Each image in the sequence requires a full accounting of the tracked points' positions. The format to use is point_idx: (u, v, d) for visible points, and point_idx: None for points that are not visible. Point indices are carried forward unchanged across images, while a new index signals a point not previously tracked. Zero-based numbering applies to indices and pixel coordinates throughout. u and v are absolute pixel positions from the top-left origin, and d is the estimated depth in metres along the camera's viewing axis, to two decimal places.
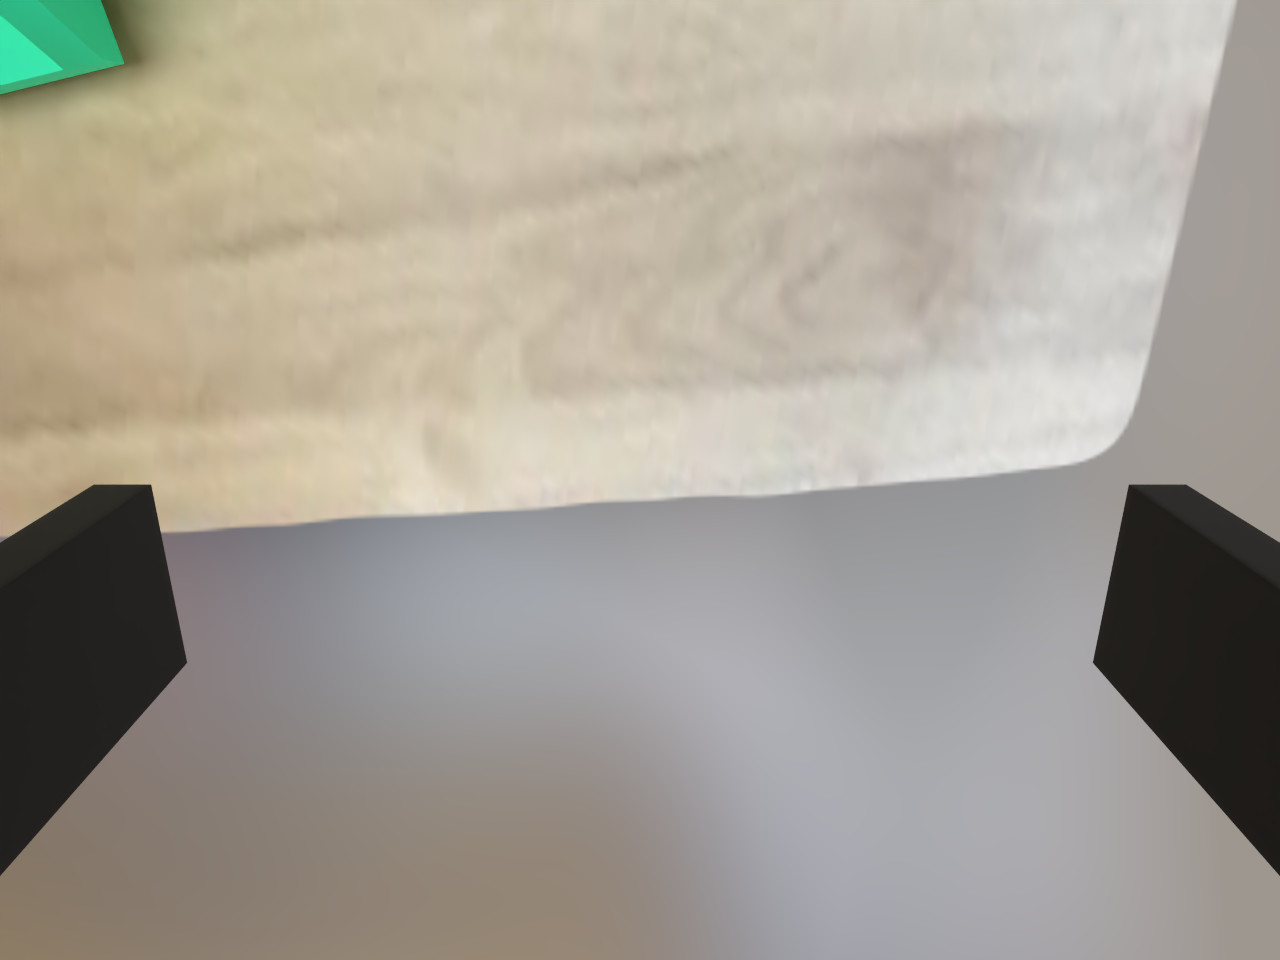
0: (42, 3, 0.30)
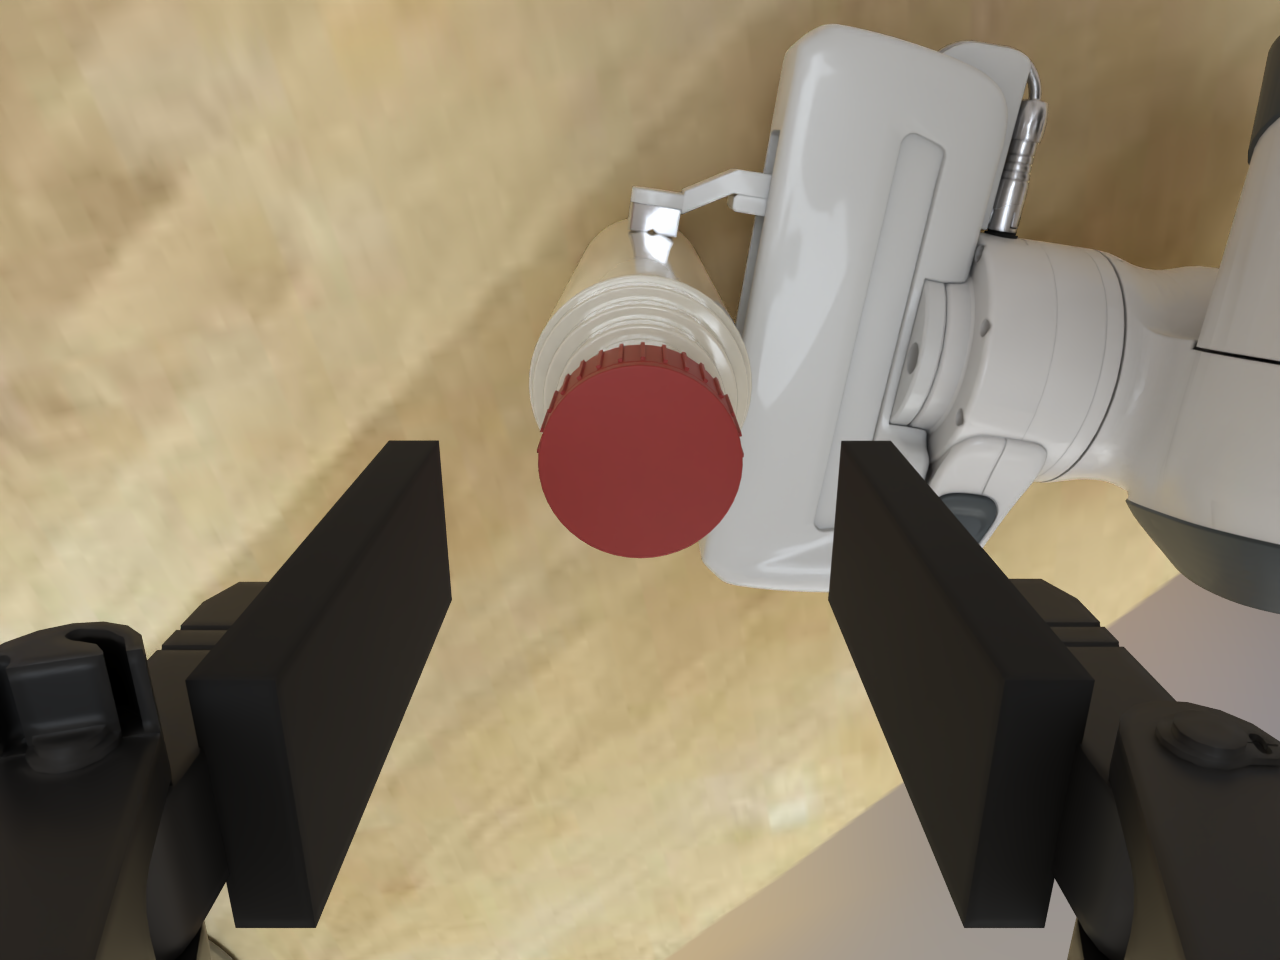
0: None
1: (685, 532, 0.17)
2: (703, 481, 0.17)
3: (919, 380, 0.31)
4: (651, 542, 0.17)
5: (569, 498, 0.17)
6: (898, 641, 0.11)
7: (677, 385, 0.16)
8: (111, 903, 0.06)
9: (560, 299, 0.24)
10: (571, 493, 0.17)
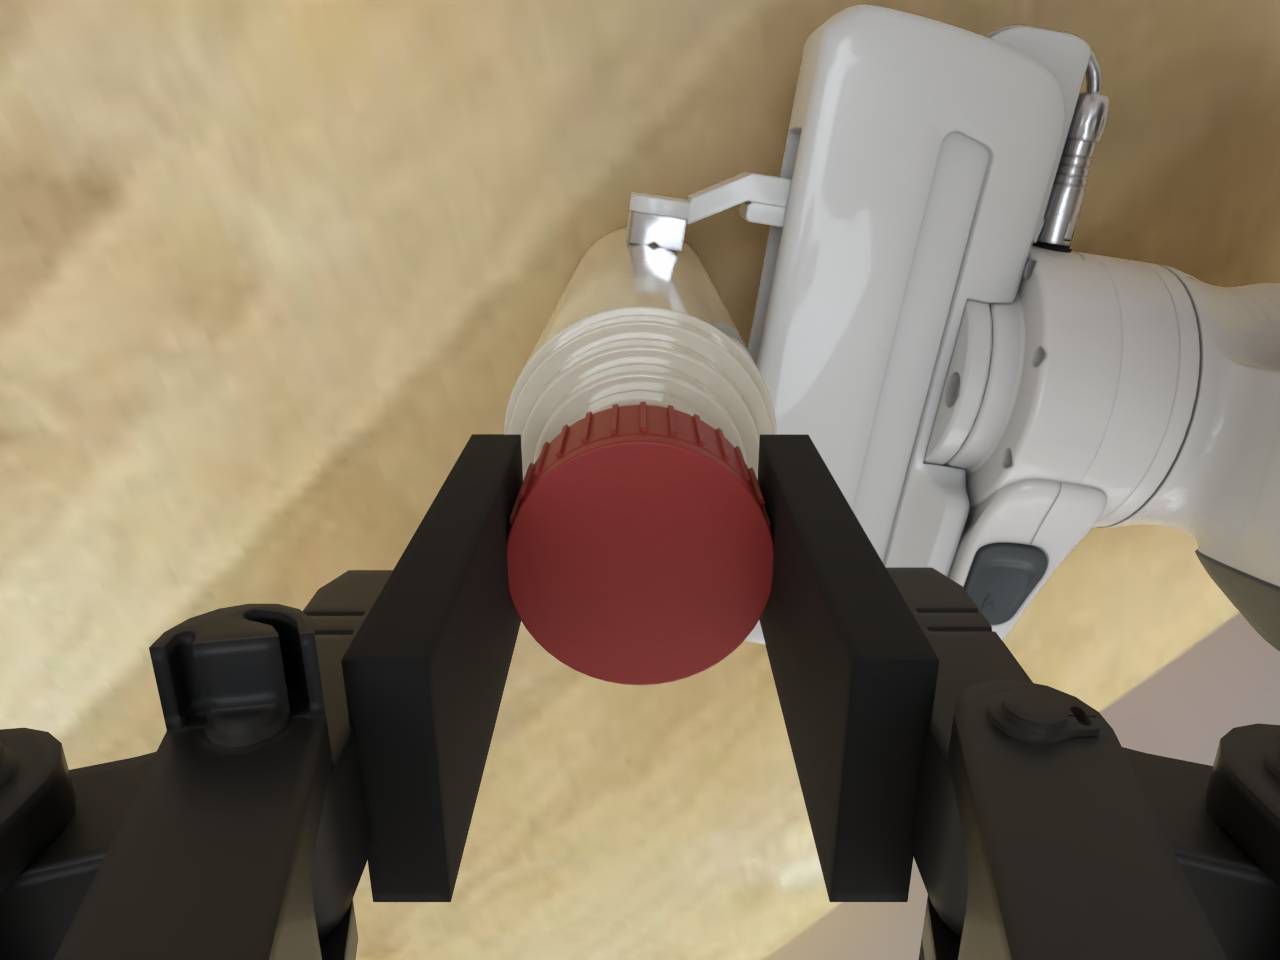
0: None
1: (699, 653, 0.13)
2: (723, 589, 0.13)
3: (960, 415, 0.27)
4: (654, 665, 0.13)
5: (546, 610, 0.13)
6: (792, 627, 0.11)
7: (689, 467, 0.12)
8: (286, 880, 0.06)
9: (544, 330, 0.20)
10: (549, 604, 0.13)
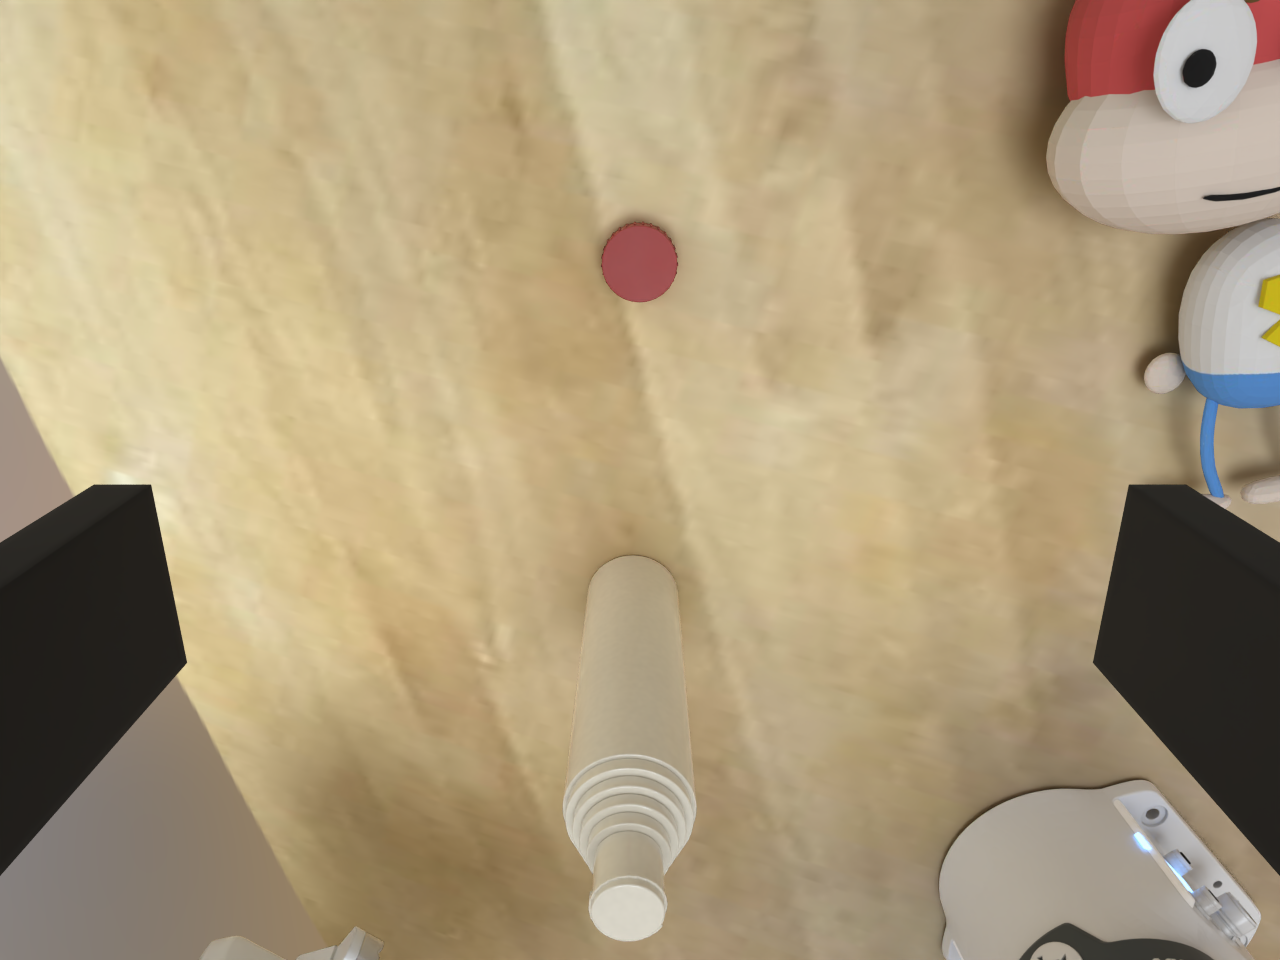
0: None
1: (654, 292, 0.46)
2: (662, 272, 0.45)
3: None
4: (641, 295, 0.46)
5: (612, 275, 0.45)
6: None
7: (654, 234, 0.45)
8: None
9: (687, 740, 0.39)
10: (613, 273, 0.45)
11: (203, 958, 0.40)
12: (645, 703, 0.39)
